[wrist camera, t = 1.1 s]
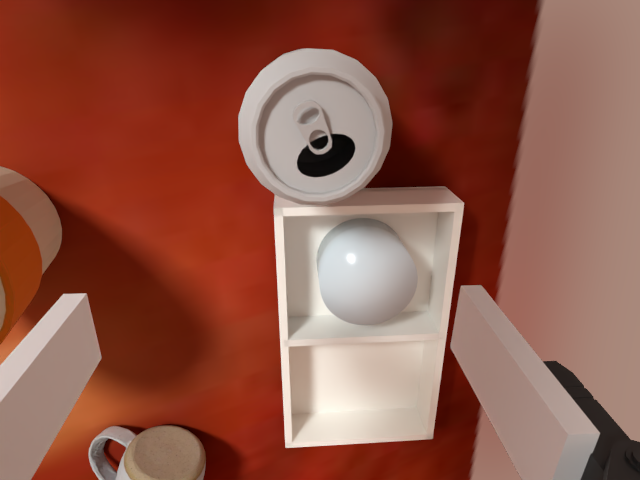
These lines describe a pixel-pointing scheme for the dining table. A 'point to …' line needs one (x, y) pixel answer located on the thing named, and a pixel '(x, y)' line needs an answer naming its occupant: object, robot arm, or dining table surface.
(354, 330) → the caddy
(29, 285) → the reusable coffee cup
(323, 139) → the can
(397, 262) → the white dome
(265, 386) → the dining table surface
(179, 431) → the ceramic mug
